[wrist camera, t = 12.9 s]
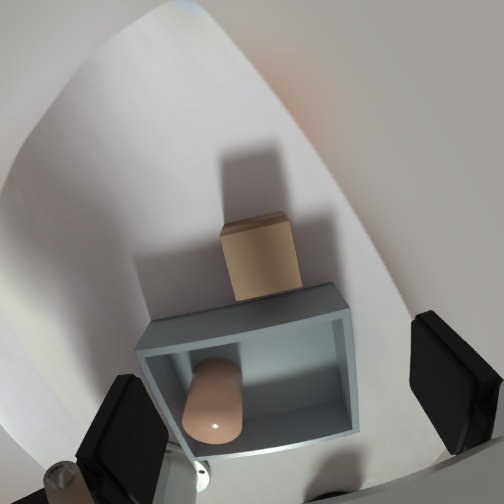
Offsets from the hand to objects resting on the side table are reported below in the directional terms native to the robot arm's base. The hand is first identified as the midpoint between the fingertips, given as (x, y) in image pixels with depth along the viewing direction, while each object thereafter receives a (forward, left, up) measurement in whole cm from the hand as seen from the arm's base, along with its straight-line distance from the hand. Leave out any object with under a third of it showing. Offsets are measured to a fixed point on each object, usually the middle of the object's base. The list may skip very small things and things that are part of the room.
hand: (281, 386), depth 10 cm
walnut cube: (0, 0, -19) cm, 19 cm away
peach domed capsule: (-7, -12, -18) cm, 23 cm away
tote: (-3, -12, -19) cm, 22 cm away
